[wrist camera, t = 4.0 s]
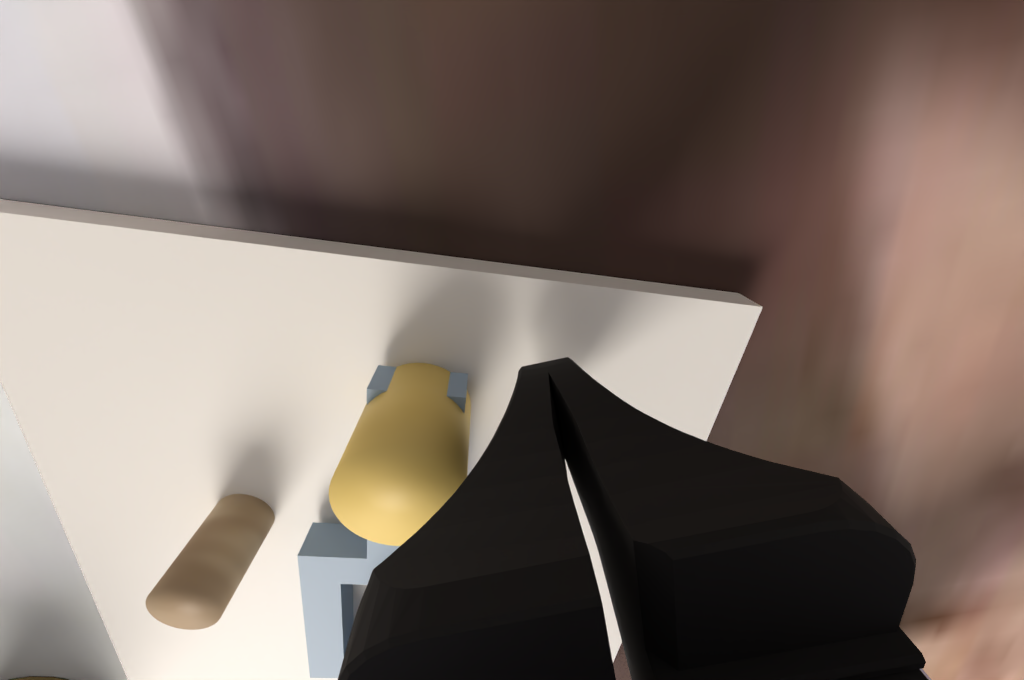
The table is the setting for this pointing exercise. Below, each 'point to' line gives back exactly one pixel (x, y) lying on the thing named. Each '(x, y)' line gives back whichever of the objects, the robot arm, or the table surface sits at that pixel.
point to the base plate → (286, 392)
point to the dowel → (211, 564)
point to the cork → (38, 678)
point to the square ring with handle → (382, 495)
